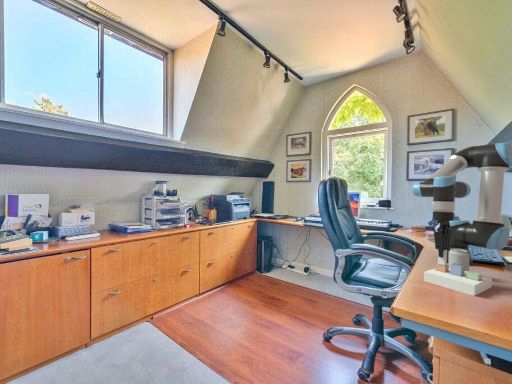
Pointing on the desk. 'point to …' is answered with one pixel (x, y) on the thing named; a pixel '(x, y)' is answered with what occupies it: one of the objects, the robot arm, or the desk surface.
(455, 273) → the slate button
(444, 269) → the terracotta button
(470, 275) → the sage button
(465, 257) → the can
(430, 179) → the robot arm
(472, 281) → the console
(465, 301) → the desk surface
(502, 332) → the desk surface
